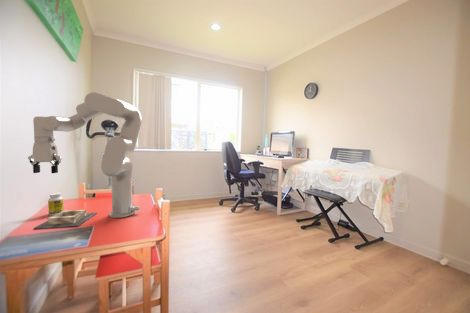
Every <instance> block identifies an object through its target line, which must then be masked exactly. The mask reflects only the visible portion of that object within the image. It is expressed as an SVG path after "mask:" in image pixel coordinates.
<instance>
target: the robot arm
mask: <svg viewBox="0 0 470 313" xmlns="http://www.w3.org/2000/svg"><path fill="white" fill-rule="evenodd" d="M75 110H76V113H75V114H73V115H71V116H69V117H64V116H63V117H62V116H55V115H51V116H50V115H49V116H34V117H33V120H32V122H33V137H34V138H33V139H34V140H33V141H34V142H33V145H32V154H31V155H30V156H27V159H28V160H29V163H30V164H31V166H32V172H33V174H37V173H40V172H41V164H40V163H50V164H51V167H50V169H51V170H50V171H51V174H58V172H59V168H58V166H59V164H61V162H62V159H63V157H62V156H60V155H59V153H58V148H57V144H56V143H55V141H56V139H55V138H54V132H67V133H68V132H73V131H77V129H80V128H83V127H85V125H87V123H88V122H89V121H90V120H92V119H94V118H96V117H98V116H101V115H103V114H105V115H108V116H112V117H115V118H119V119H123V120H124V122H123V124H122V126H121V129H120V133H119V135H117V136H114V137H111V138H109V140H108V141H107V143H106V145H105V148H104V151H103V156H102V160H101V163H100V164H101V165H100V167H101V172H102V173H103V174H104V175H105V176H107V177H111V181H110V182H111V183H110V185H111V186H110V187H111V212H109V213H108V217H109V218H114V219H119V218H125V217H126V218H127V217H130V216H132V215H133V216H134V214H136V212H137V211H139V212H140V211H141V207H140V206H139V205H138V206H137V205H136V206H135V205H134V203H133V201H132V200H133V196H132V195H133V194H132V191H133V190H132V173H133V162H132V160H131V159H130V158H129V157H127V155H130V154H132V153H133V152H134V151H135V149H136V145H137V141H138V138H139V134H140V130H141V126H142V122H143V121H142V120H143V118H142V115H141V112H140V111H139V110H138V108H137V107H135V106H134V105H132V104H131V103H129V102H125V101H123V100H122V99H121V100H120V99H118V98H114V97H111V96H108V95H105V94H103V93H101V92H97V91H92V92H88V93H87V94H86V95H85V97H84V102H82V103H80V104H78V105H77V106H76V108H75Z"/></svg>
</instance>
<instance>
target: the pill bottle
mask: <svg viewBox="0 0 470 313" xmlns="http://www.w3.org/2000/svg"><path fill="white" fill-rule="evenodd" d="M47 202H48V204H47V205H48V215H49V216H53V215H55V214H57V213H59V212H61V211H64V198H63V196H62V193H61V192H55V193H50V194H49V198H48V201H47Z"/></svg>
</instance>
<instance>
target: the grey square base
mask: <svg viewBox="0 0 470 313" xmlns="http://www.w3.org/2000/svg"><path fill="white" fill-rule="evenodd" d="M97 214H98V212H87V209H74V210H73V209H72V210H70V209H69V210H63V211H61V212H59V213H57V214H55V215H50V216H48V218H47V220H46V221H44V222H43V223H41V224H39V225H36V226H35V227H33V230H45V229H46V230H47V229H62V228H78V227H80V226H81V225H83V224H84V223H86V222H87V221H89V220H90V219H92V218H93V217H94V216H96V215H97Z"/></svg>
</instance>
